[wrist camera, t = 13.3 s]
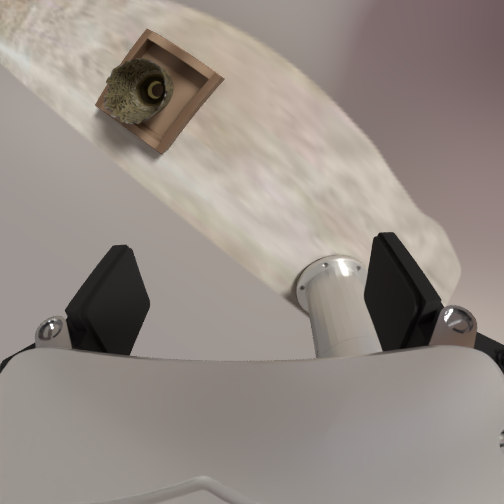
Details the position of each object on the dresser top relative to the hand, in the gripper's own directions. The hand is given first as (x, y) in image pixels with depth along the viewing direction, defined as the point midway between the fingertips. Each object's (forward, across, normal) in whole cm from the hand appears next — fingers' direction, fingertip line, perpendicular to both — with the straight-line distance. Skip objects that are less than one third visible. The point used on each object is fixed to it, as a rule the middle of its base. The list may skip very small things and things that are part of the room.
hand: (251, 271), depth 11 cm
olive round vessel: (+28, +12, -9) cm, 32 cm away
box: (+28, +12, -9) cm, 32 cm away
